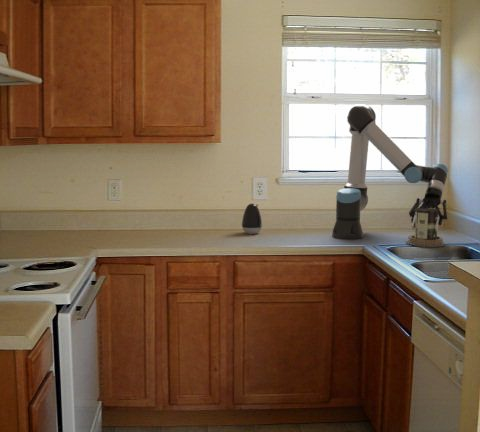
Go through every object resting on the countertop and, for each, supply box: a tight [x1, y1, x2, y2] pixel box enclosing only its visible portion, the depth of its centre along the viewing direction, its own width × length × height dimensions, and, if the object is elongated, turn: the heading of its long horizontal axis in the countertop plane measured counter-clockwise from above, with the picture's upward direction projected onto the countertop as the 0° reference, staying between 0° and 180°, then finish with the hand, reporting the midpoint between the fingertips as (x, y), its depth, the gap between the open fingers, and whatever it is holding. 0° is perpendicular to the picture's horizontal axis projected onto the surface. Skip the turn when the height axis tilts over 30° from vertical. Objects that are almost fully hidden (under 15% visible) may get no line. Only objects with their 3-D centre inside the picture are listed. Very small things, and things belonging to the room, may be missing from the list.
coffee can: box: [414, 207, 439, 240], centre depth 309 cm, size 10×10×14 cm
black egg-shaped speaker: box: [241, 203, 263, 235], centre depth 337 cm, size 10×10×15 cm
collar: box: [406, 234, 445, 249], centre depth 310 cm, size 17×17×3 cm
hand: (424, 228), depth 307 cm, fingers closed on coffee can, 10 cm apart
